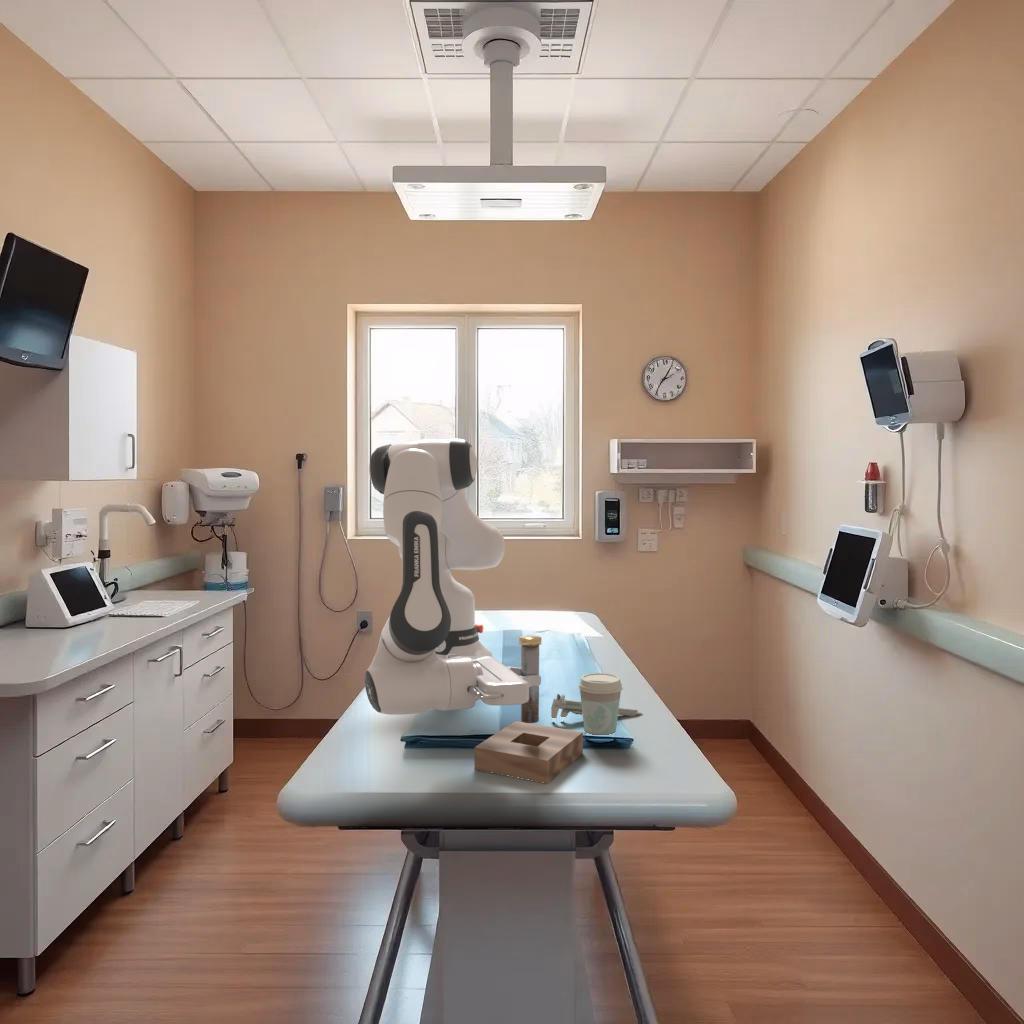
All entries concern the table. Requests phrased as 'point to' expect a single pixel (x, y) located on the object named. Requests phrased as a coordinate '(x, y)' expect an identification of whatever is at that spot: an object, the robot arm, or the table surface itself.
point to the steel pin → (528, 667)
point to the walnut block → (529, 751)
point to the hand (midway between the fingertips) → (534, 675)
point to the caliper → (577, 708)
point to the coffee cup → (600, 702)
